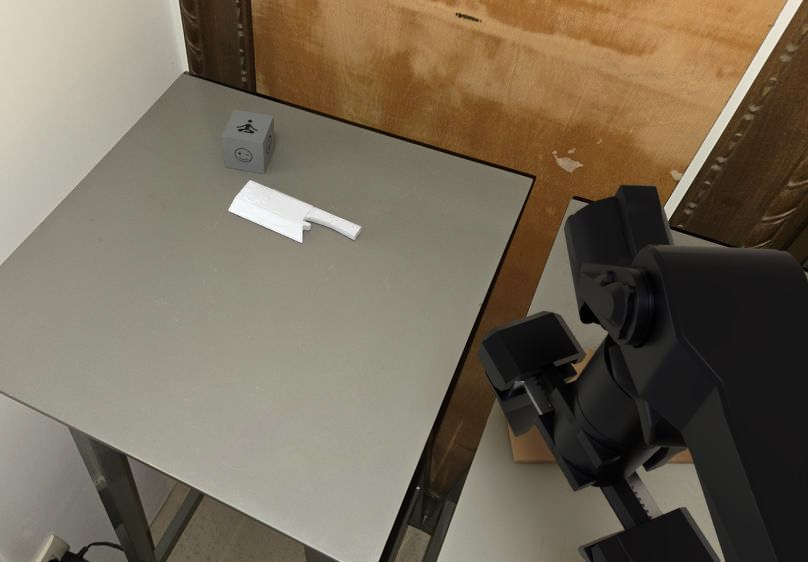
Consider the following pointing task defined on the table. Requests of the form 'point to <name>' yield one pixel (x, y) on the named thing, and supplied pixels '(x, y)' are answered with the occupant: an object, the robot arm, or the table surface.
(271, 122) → the dice cube
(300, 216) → the white plastic blade
